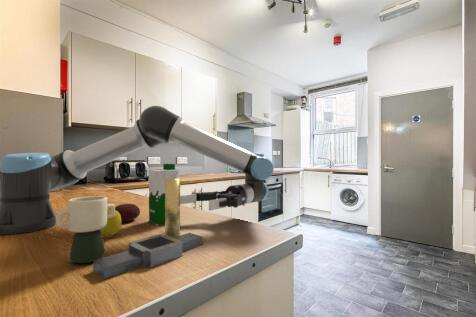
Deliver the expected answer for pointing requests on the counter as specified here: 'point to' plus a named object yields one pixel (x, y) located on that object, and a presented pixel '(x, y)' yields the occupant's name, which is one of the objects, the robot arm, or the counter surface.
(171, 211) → the link pin
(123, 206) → the potato
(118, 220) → the lemon
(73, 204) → the character mug
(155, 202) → the milk carton
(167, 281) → the counter surface
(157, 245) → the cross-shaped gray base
